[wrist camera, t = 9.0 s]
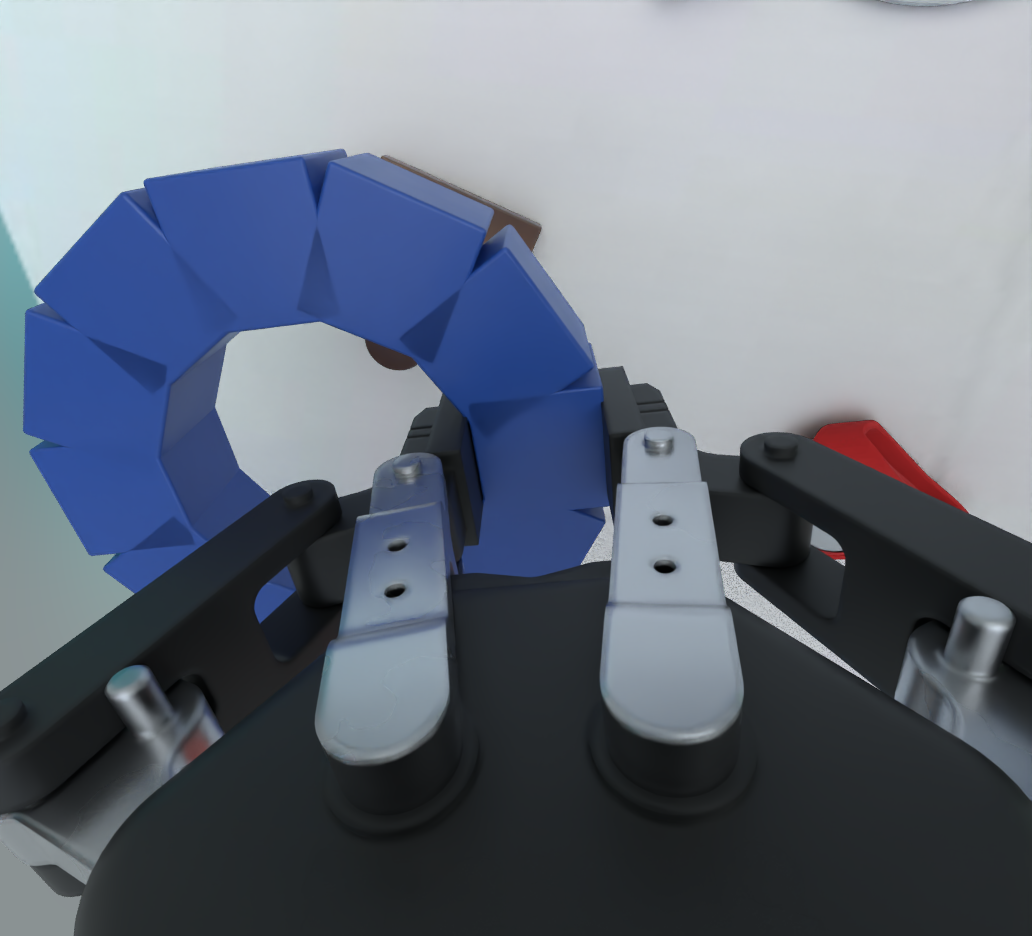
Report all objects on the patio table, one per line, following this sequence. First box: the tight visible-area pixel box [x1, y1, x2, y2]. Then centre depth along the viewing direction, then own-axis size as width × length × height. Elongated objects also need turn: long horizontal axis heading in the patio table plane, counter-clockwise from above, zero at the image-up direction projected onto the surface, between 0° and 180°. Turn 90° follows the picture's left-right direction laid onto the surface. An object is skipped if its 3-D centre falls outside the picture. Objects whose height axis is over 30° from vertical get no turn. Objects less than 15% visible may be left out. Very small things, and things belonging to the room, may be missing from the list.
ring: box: [23, 149, 610, 623], centre depth 15 cm, size 12×12×3 cm
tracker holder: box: [811, 420, 968, 560], centre depth 36 cm, size 12×4×10 cm
